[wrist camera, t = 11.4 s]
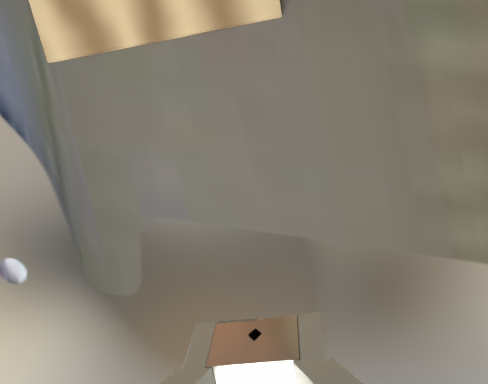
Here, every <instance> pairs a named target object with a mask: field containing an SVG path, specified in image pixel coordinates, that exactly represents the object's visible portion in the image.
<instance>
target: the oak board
mask: <svg viewBox="0 0 488 384" xmlns="http://www.w3.org/2000/svg"><path fill="white" fill-rule="evenodd" d="M29 3H30V6H31V10H32V13H33V16H34V19H35V22H36V26H37V29H38V32H39V35H40V39H41V42H42V45H43V48H44V52H45V55H46V58H47V61H48V63H51V62H58V61H63V60H68V59H73V58H78V57H83V56H88V55H93V54H98V53H103V52H108V51H113V50H119V49H124V48H129V47H134V46H139V45H144V44H149V43H154V42H159V41H164V40H169V39H174V38H179V37H184V36H189V35H194V34H199V33H204V32H209V31H215V30H220V29H225V28H230V27H235V26H240V25H245V24H250V23H255V22H260V21H265V20H270V19H275V18H280V17H282V13H281V6H280V0H29Z"/></svg>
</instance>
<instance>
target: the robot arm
mask: <svg viewBox="0 0 488 384" xmlns="http://www.w3.org/2000/svg"><path fill="white" fill-rule="evenodd" d="M160 384H363V383H361V382H360V381H359V380H358V379H357V378H356V377H354V376H353V375H352V374H351V373H350V372H348V371H347V370H346V369H345V368H344V367H342V366H341V365H340V364H339V363H338V362H337V361H336V360H334V359H333V358H326V355H325V348H324V341H323V335H322V328H321V322H320V315H319V312H310V313H303V314H298V315H290V316H281V317H272V318H263V319H245V320H231V321H219V322H207V323H199V324H197V325H196V327H195V330H194V333H193V336H192V339H191V342H190V345H189V348H188V351H187V354H186V358H185V361H184V364H183V367H182V370H176V371H174V372H173V373H172V374H171V375H170V376H169V377H167V378H166V379H165V380H164V381H163V382H162V383H160Z"/></svg>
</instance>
